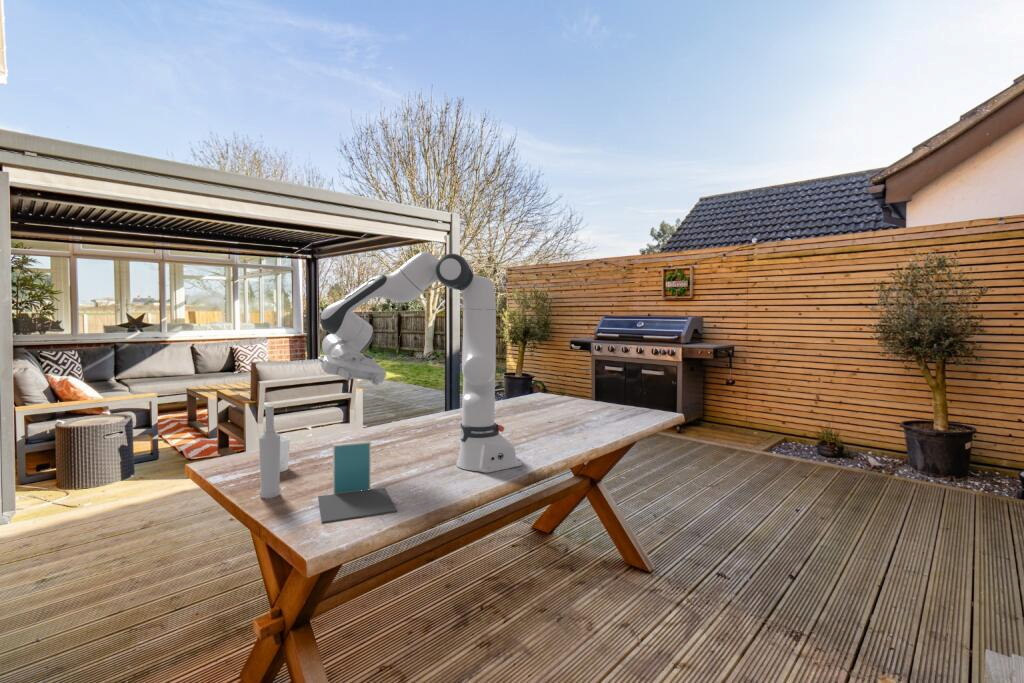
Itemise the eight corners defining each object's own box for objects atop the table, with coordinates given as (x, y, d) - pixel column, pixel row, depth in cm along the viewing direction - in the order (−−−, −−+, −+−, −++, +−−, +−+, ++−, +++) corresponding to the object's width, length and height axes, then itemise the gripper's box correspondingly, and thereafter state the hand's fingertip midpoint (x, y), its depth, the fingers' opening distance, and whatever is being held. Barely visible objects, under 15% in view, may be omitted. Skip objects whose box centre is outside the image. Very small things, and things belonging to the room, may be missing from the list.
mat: (384, 488, 139) (384, 487, 139) (396, 511, 123) (396, 510, 123) (318, 497, 131) (318, 496, 131) (321, 523, 115) (321, 521, 115)
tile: (369, 488, 139) (369, 440, 138) (370, 490, 138) (370, 442, 137) (333, 493, 135) (333, 444, 134) (333, 494, 134) (333, 445, 133)
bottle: (275, 490, 136) (274, 403, 134) (284, 495, 132) (283, 405, 131) (256, 495, 132) (255, 405, 130) (264, 500, 128) (264, 408, 127)
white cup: (260, 474, 149) (259, 443, 148) (265, 466, 156) (265, 436, 156) (287, 473, 151) (287, 441, 150) (292, 465, 158) (291, 435, 158)
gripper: (320, 346, 148) (334, 365, 138) (378, 359, 162) (395, 376, 152) (312, 364, 149) (326, 384, 139) (371, 375, 163) (388, 394, 153)
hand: (363, 380), depth 146 cm, fingers open, 8 cm apart
